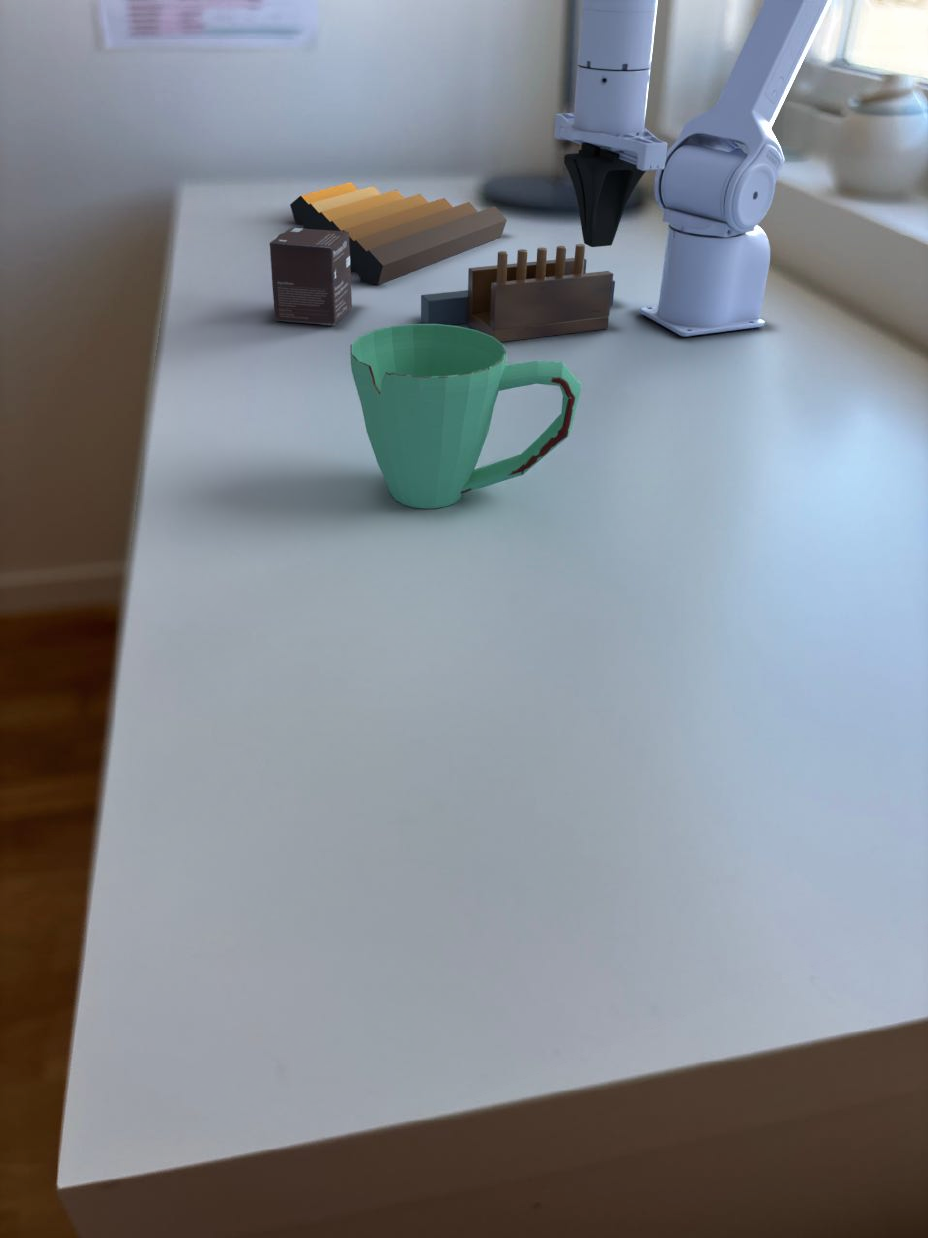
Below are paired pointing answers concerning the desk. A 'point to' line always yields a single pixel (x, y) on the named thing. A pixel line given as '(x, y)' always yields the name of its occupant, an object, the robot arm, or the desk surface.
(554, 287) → the rack
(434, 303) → the rail
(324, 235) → the box
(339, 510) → the desk surface
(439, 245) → the ridged wooden panel
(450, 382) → the mug
